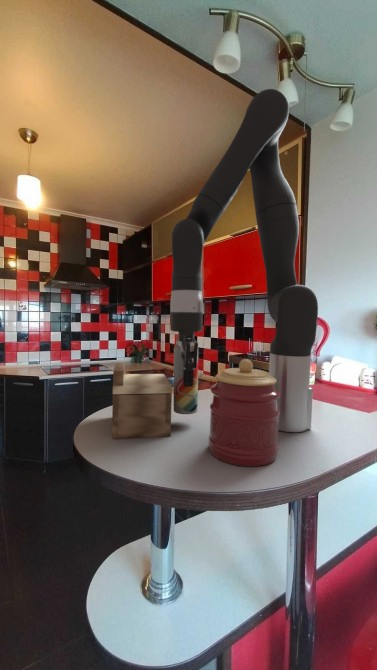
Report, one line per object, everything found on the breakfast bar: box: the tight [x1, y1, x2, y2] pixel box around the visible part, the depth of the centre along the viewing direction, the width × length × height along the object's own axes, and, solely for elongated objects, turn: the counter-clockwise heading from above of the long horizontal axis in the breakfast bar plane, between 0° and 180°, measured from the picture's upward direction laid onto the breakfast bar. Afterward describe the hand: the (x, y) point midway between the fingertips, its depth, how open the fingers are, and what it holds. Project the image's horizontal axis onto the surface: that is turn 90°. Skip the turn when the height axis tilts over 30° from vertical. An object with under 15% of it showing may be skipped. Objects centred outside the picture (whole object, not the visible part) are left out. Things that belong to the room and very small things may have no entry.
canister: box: [208, 358, 281, 467], centre depth 57 cm, size 13×13×18 cm
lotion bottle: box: [173, 332, 199, 415], centre depth 70 cm, size 6×6×20 cm
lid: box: [112, 362, 173, 395], centre depth 68 cm, size 12×14×4 cm
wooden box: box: [111, 393, 173, 440], centre depth 69 cm, size 12×14×9 cm
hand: (185, 383), depth 71 cm, fingers closed on lotion bottle, 5 cm apart
